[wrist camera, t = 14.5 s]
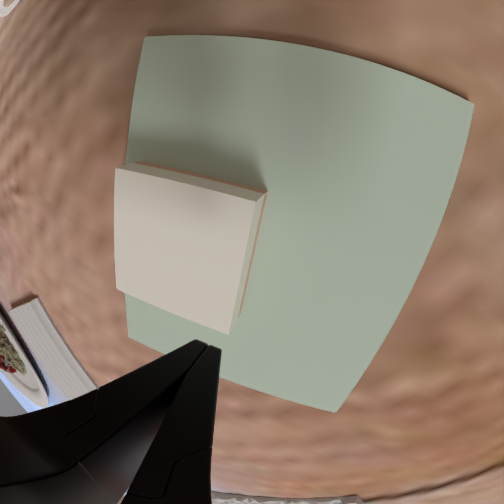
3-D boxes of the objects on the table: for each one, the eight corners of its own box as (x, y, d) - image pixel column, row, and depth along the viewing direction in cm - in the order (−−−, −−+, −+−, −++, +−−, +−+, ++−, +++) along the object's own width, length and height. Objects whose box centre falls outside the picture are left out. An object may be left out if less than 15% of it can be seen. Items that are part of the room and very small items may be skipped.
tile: (255, 201, 12) (115, 167, 13) (228, 335, 15) (116, 288, 16) (267, 190, 13) (139, 161, 14) (240, 312, 16) (135, 273, 18)
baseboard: (48, 291, 24) (15, 305, 29) (28, 305, 22) (1, 316, 27) (192, 473, 33) (137, 459, 38) (184, 488, 30) (129, 471, 35)
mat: (470, 104, 9) (474, 104, 9) (336, 407, 18) (335, 412, 18) (150, 38, 12) (144, 36, 12) (132, 333, 21) (128, 336, 21)
